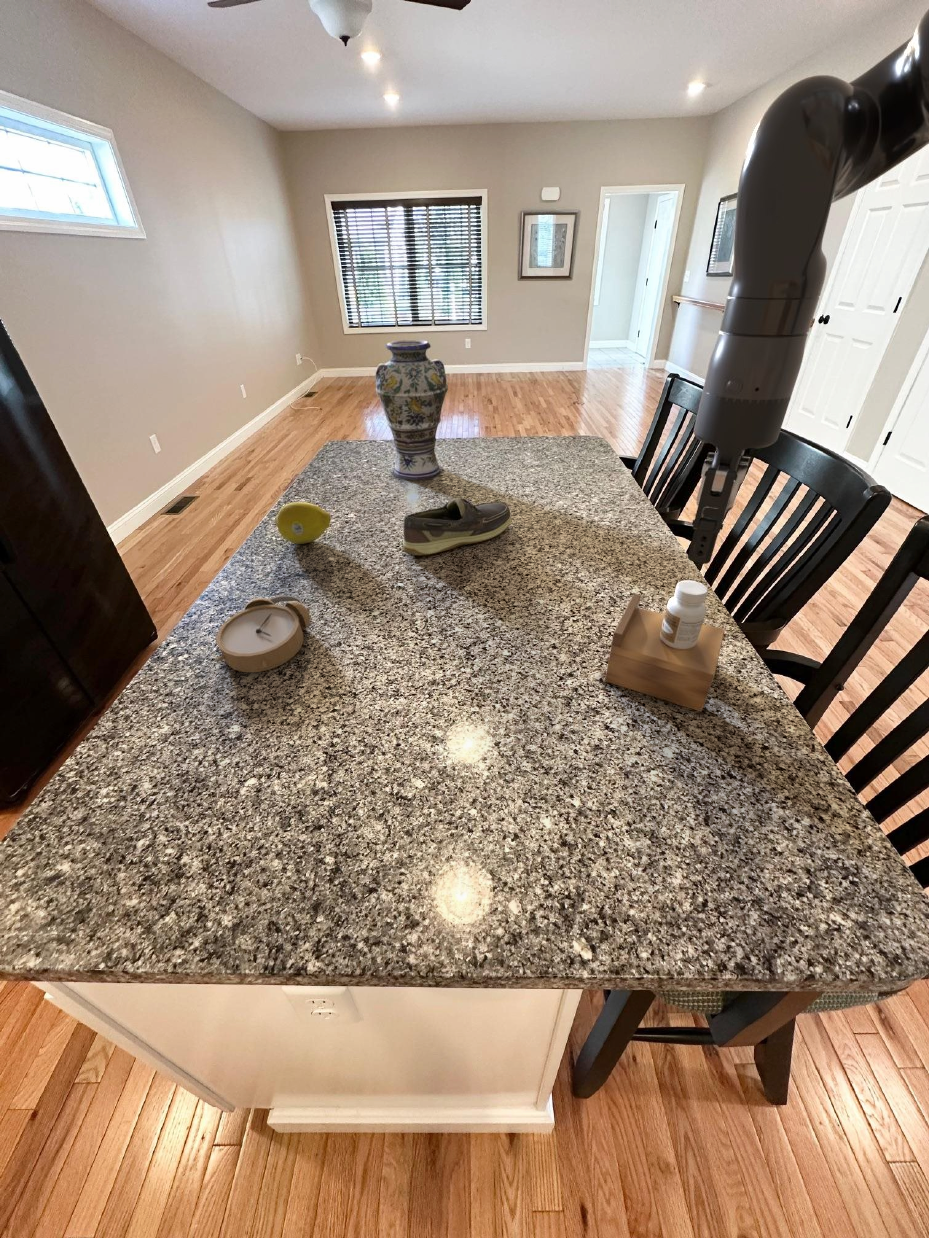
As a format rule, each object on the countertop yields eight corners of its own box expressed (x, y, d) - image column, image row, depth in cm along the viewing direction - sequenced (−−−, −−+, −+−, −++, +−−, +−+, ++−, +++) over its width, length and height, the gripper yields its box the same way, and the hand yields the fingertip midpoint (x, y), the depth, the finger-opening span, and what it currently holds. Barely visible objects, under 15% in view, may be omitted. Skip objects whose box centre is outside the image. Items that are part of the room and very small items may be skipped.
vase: (457, 479, 129) (453, 345, 112) (388, 486, 126) (374, 349, 109) (444, 459, 142) (439, 336, 125) (381, 464, 139) (368, 340, 122)
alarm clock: (198, 652, 69) (251, 580, 79) (212, 675, 72) (262, 603, 83) (274, 662, 67) (319, 586, 77) (285, 685, 70) (327, 610, 81)
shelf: (712, 664, 70) (729, 616, 65) (701, 712, 63) (719, 661, 58) (624, 639, 74) (633, 593, 70) (604, 681, 67) (613, 632, 63)
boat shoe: (522, 528, 106) (524, 490, 101) (423, 567, 93) (420, 526, 88) (492, 514, 111) (493, 478, 107) (395, 549, 99) (391, 510, 94)
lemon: (271, 548, 100) (261, 509, 95) (290, 530, 106) (282, 494, 102) (323, 552, 98) (316, 513, 93) (339, 534, 104) (333, 497, 100)
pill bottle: (655, 629, 66) (667, 577, 62) (689, 629, 66) (704, 577, 62) (664, 650, 63) (678, 597, 58) (701, 650, 63) (718, 597, 58)
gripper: (791, 408, 41) (734, 582, 50) (794, 377, 51) (746, 526, 61) (692, 399, 44) (655, 565, 53) (714, 372, 54) (680, 515, 64)
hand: (704, 544), depth 57 cm, fingers open, 8 cm apart
